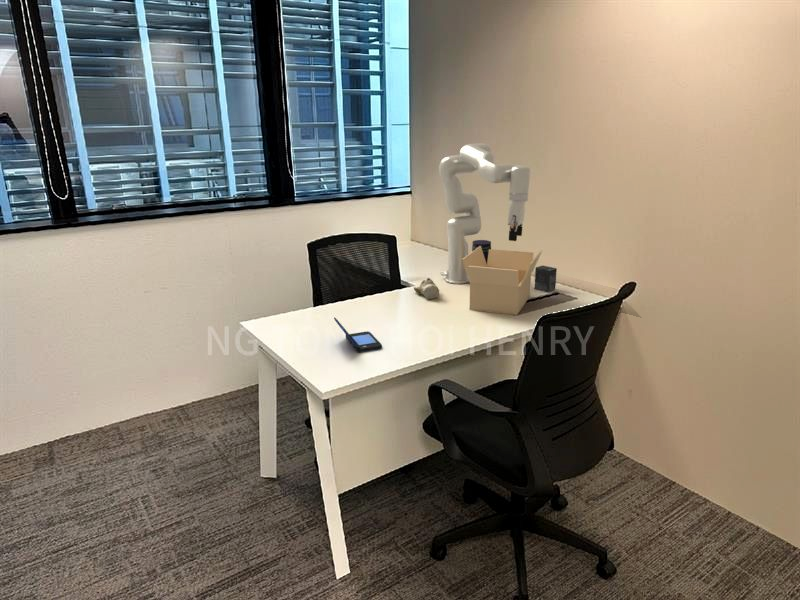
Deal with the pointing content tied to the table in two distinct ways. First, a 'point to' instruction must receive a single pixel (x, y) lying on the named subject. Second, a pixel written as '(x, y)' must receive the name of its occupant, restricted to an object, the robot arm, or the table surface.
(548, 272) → the box
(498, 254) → the carton
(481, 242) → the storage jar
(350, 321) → the table surface
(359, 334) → the handheld device with antenna
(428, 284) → the ceramic sculpture
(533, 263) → the flap
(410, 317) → the table surface
